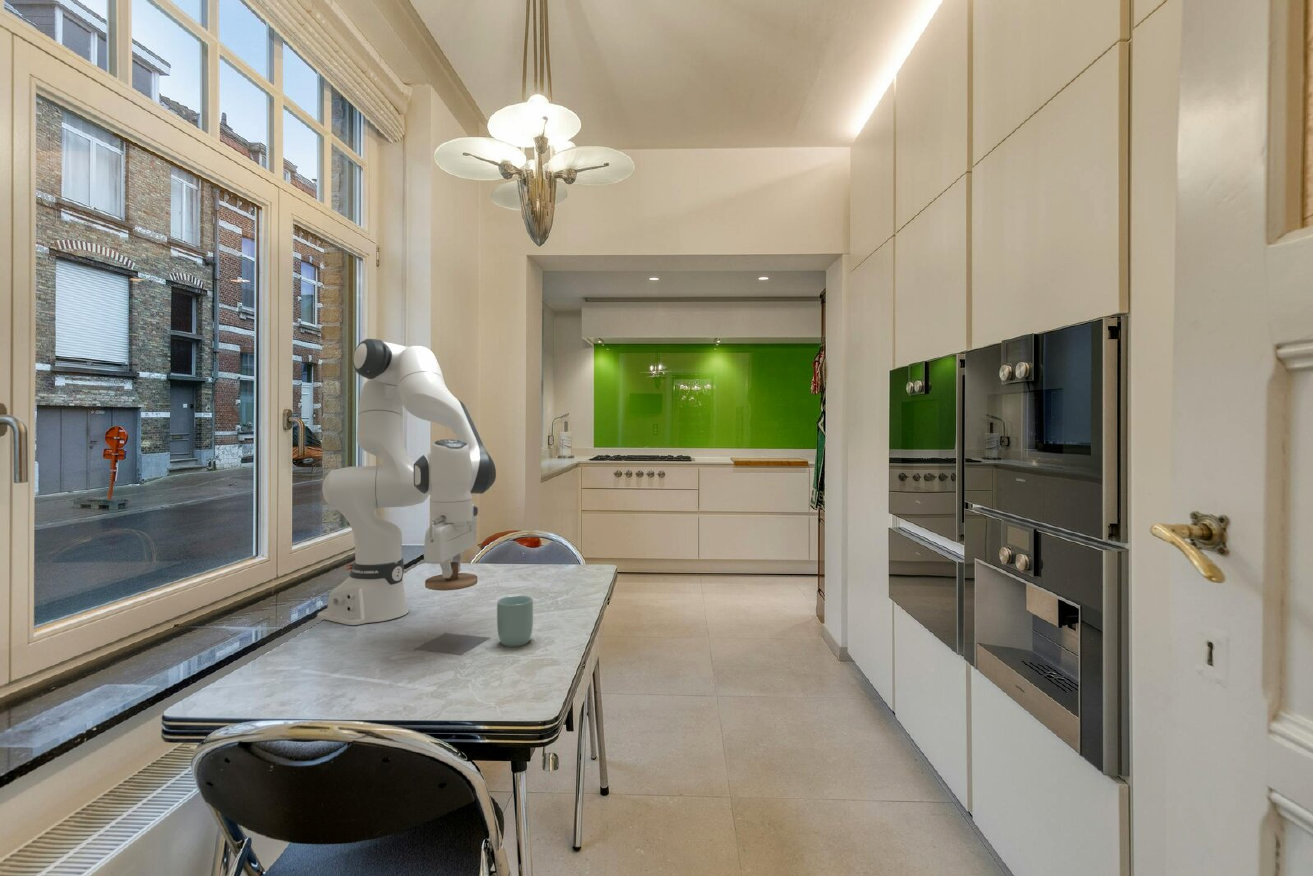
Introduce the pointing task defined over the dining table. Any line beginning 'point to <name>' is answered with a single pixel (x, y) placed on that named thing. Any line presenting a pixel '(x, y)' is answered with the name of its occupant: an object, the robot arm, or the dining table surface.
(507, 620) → the cup
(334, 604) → the robot arm
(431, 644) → the mat
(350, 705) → the dining table surface
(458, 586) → the lid
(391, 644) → the dining table surface
